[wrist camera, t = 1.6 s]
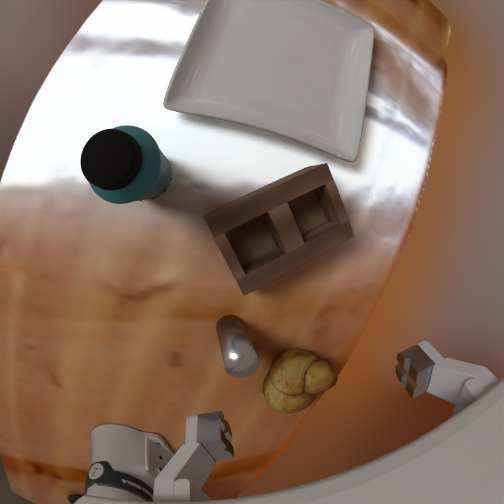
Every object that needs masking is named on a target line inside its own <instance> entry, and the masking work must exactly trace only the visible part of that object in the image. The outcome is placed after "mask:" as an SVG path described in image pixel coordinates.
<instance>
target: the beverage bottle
mask: <svg viewBox="0 0 504 504" xmlns="http://www.w3.org/2000/svg"><path fill="white" fill-rule="evenodd" d="M170 164H171V163H169V161H168V160H167V158H166V157H165V156H164V154H163V153H162V152H161V150H160V149H159V147H158V145H157V143H156V141H155V140H154V139H153V137H152V136H151V135H150V134H149V133H148V132H146V131H145V130H143V129H141V128H139V127H135V126H119V127H115V128H113V129H106V130H102V131H100V132H98V133H96V134H95V135H93V136H92V137H91V138H90V139H89V140H88V142H87V143H86V145H85V146H84V148H83V151H82V154H81V169H82V172H83V174H84V176H85V178H86V179H87V180H88V182H89V183H90V185H91V187H92V189H93V190H94V191H95V193H96V194H97V195H98V196H99V197H101V198H102V199H104V200H106V201H108V202H111V203H116V204H124V203H130V202H133V201H139V200H140V201H143V200H145V199H151V198H153V199H155V198H154V197H157V196H159V195H160V194H162V193H163V192H165V191H166V188H167V187H168V185H169V183H170V180H172V178H171V175H172V174H171V170H172V169H171V168H172V166H170ZM172 176H173V175H172ZM169 186H170V185H169ZM147 201H148V200H147Z"/></svg>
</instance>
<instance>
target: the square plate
mask: <svg viewBox="0 0 504 504" xmlns="http://www.w3.org/2000/svg"><path fill="white" fill-rule="evenodd" d="M373 42H374V29H373V27H372V26H371V25H369V24H368V23H366V22H364V21H362V20H361V19H359V18H357V17H355V16H353V15H351V14H349V13H347V12H345V11H343V10H341V9H339V8H337V7H335V6H332V5H330V4H328V3H326V2H323V1H321V0H206V2H205V4H204V7H203V9H202V11H201V13H200V15H199V17H198V20H197V22H196V24H195V26H194V28H193V30H192V32H191V35H190V37H189V39H188V41H187V43H186V45H185V48H184V50H183V52H182V54H181V57H180V59H179V61H178V63H177V66H176V68H175V70H174V73H173V75H172V78H171V80H170V83H169V86H168V89H167V91H166V94H165V98H164V103H163V104H164V107H165V108H166V109H169V110H172V111H176V112H181V113H187V114H194V115H199V116H206V117H211V118H216V119H221V120H227V121H231V122H235V123H239V124H244V125H248V126H252V127H256V128H259V129H263V130H266V131H269V132H272V133H275V134H279V135H282V136H285V137H287V138H290V139H293V140H295V141H298V142H301V143H304V144H306V145H309V146H311V147H313V148H316V149H318V150H321V151H323V152H326V153H328V154H331V155H333V156H335V157H337V158H340V159H343V160H346V161H349V162H354V161H356V159H357V156H358V151H359V146H360V141H361V135H362V129H363V122H364V115H365V108H366V101H367V93H368V85H369V77H370V68H371V60H372V51H373Z"/></svg>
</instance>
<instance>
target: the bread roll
mask: <svg viewBox="0 0 504 504" xmlns="http://www.w3.org/2000/svg"><path fill="white" fill-rule="evenodd" d="M337 379H338V376H337V373H336V371H335V370H334V368H333V367H332V366H331V365H330V364H329V363H328V362H327V361H324V360H319V359H318V358H317V357H316V356H315V355H313V354H312V353H311V352H310V351H304V350H299V349H290V350H286V351H285V352H283V353H281V354H280V355H278V356H277V357H276V358H275V360H274V361H273V362H272V365H271V367H270V371H269V372H268V374H267V375H266V377H265V380H264V383H263V394H264V397H265V400H266V401H267V403H268V404H269V405H270V406H271V407H272V409H274V410H275V411H279V412H283V413H295V412H299V411H301V410H303V409H304V408H306V407H307V406H309V405H310V404H311V403H312V402H313V401H314V400H315V398H316V397H317V394H318V393H321V392H323V391H326V390H328V389H330V388H331V387H332V386H334V385H335V384H336V382H337Z"/></svg>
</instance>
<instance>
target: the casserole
mask: <svg viewBox="0 0 504 504" xmlns="http://www.w3.org/2000/svg"><path fill="white" fill-rule="evenodd" d="M79 498H81V497H80V496H75V495H69V496H68V500H69V501H70V503H71V504H74V503H75V502H76V501H77V500H78V499H79Z"/></svg>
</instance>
